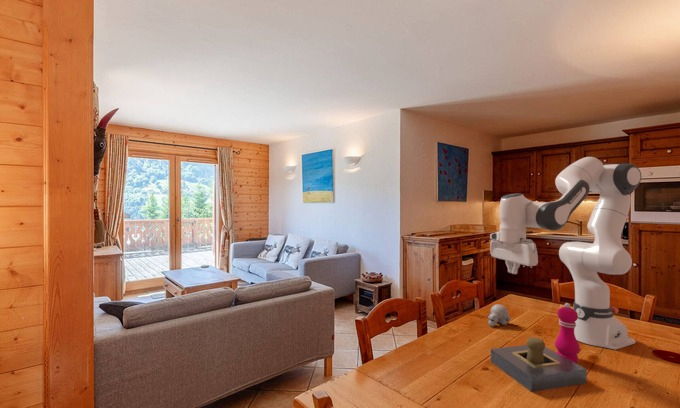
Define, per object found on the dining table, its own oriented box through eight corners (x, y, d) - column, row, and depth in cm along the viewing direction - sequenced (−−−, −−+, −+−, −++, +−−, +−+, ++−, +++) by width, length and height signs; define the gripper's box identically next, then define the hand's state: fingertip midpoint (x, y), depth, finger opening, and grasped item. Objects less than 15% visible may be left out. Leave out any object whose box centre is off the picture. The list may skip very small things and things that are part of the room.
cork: (549, 378, 102) (549, 343, 102) (528, 375, 104) (528, 341, 103) (542, 368, 108) (542, 335, 108) (522, 366, 110) (522, 334, 109)
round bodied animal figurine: (484, 329, 147) (479, 313, 146) (499, 315, 152) (494, 299, 151) (498, 334, 141) (493, 318, 139) (513, 319, 146) (509, 303, 145)
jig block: (538, 355, 117) (539, 342, 117) (586, 383, 99) (586, 368, 99) (490, 361, 113) (490, 348, 112) (531, 391, 95) (531, 375, 95)
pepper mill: (575, 355, 117) (575, 301, 116) (583, 365, 110) (583, 307, 110) (552, 352, 119) (552, 299, 119) (558, 362, 112) (558, 305, 112)
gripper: (542, 239, 111) (542, 279, 112) (500, 233, 131) (500, 267, 132) (527, 240, 110) (527, 280, 110) (487, 234, 130) (487, 268, 130)
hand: (512, 273), depth 121 cm, fingers closed
